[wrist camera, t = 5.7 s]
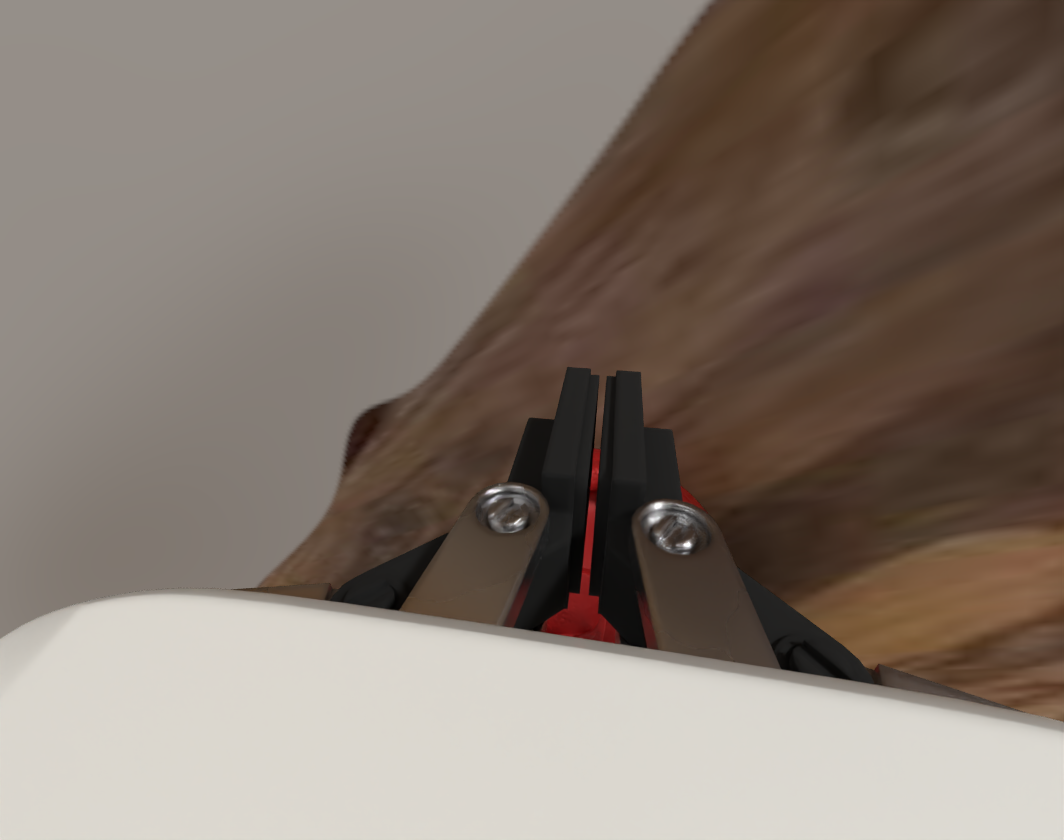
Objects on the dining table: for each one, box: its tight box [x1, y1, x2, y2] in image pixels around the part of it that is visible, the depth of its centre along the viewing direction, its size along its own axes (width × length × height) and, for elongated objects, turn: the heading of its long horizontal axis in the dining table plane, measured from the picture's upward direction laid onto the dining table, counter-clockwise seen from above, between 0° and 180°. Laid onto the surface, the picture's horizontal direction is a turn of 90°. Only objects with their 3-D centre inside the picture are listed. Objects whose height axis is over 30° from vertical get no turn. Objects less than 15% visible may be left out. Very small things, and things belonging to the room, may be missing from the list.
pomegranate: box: [546, 449, 709, 643], centre depth 17 cm, size 10×10×9 cm
